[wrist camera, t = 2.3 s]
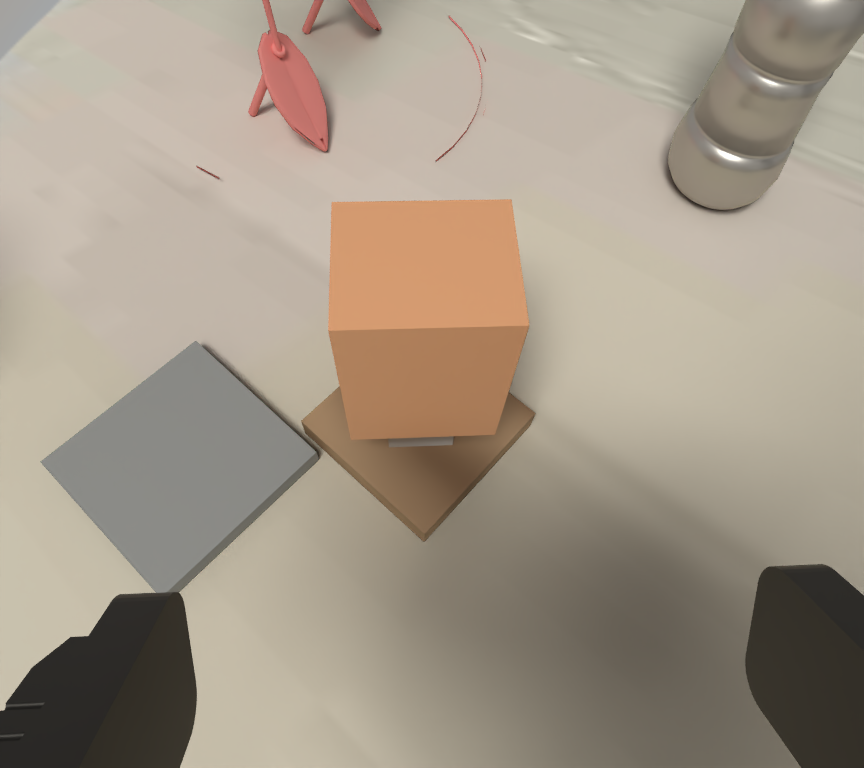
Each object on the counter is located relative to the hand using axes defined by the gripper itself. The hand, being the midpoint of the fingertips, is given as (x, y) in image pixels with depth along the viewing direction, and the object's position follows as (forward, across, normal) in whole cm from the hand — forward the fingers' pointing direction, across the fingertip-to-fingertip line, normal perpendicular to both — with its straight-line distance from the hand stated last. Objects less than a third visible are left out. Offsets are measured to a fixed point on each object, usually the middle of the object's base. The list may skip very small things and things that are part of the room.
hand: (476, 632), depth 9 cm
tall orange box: (+19, 0, +2) cm, 19 cm away
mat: (+22, +11, +7) cm, 25 cm away
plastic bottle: (+34, -19, -6) cm, 40 cm away
